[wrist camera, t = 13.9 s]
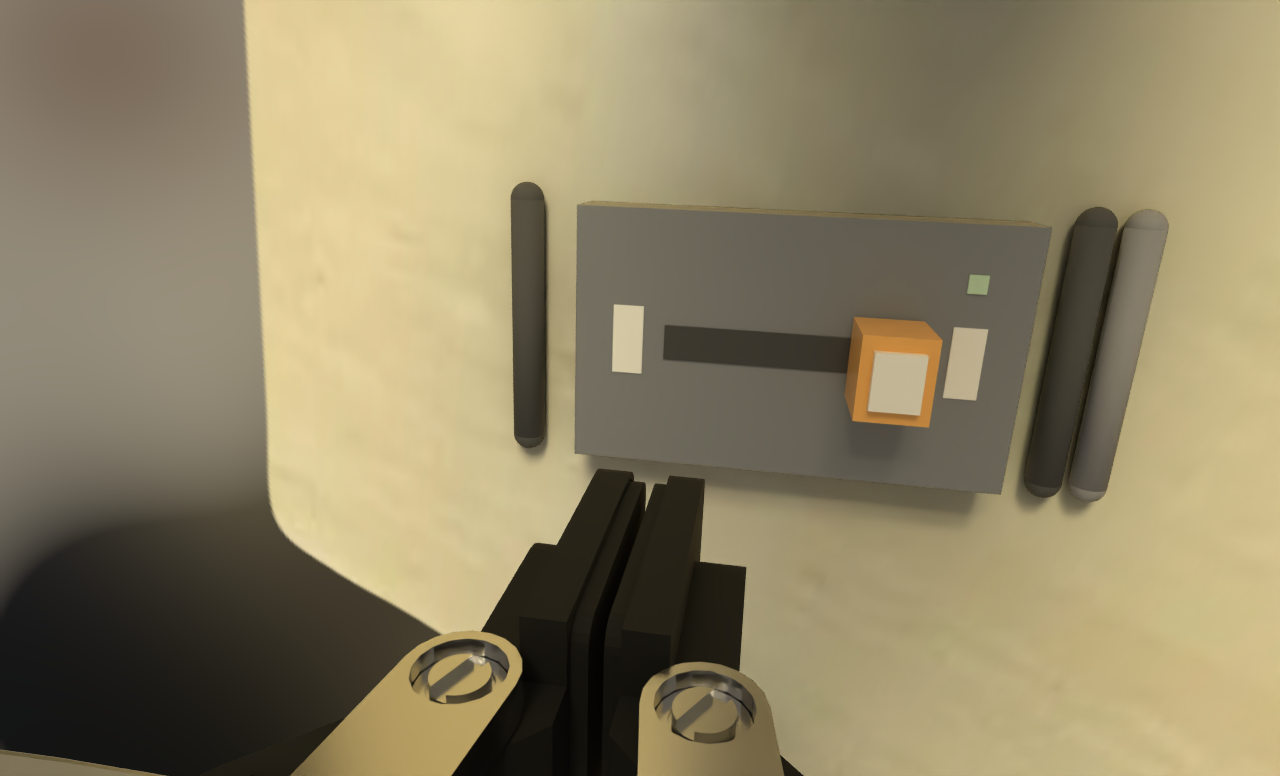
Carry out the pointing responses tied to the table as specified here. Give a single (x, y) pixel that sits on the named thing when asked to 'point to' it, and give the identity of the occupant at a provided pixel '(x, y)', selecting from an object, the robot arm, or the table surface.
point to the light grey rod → (1117, 353)
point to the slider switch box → (797, 338)
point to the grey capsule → (1070, 349)
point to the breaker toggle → (892, 371)
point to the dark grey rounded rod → (528, 313)
